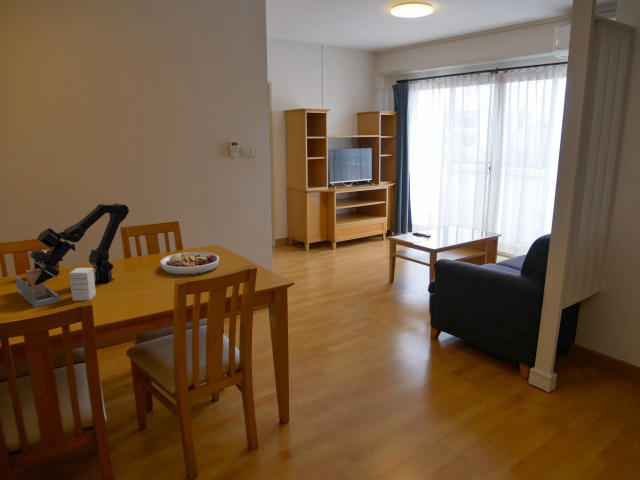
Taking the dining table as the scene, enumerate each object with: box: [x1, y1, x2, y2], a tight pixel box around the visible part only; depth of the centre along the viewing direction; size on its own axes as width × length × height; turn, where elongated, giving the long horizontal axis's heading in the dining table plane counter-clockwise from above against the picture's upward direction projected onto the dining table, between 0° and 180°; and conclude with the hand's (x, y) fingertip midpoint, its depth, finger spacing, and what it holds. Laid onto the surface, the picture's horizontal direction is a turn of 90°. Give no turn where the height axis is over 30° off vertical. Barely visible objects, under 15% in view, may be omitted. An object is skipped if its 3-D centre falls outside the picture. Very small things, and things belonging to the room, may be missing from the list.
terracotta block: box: [26, 268, 46, 295], centre depth 199 cm, size 5×5×10 cm
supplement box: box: [68, 267, 97, 302], centre depth 199 cm, size 7×7×13 cm
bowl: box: [160, 251, 220, 276], centre depth 245 cm, size 30×30×8 cm
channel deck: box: [15, 276, 61, 308], centre depth 200 cm, size 26×10×7 cm, turn 46°
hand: (32, 282), depth 198 cm, fingers open, 9 cm apart
